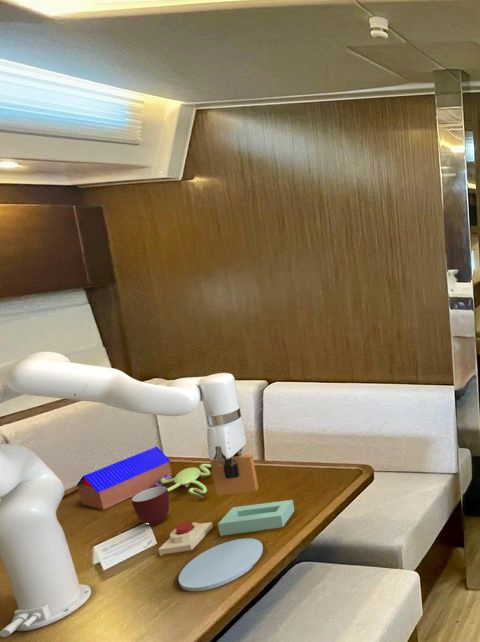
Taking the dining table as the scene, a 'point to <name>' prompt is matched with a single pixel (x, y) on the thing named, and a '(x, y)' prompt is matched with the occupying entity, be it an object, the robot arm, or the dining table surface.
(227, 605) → the dining table surface
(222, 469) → the copper rectangular plank
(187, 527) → the stop button
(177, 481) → the figurine
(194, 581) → the plate
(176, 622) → the dining table surface
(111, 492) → the house
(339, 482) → the dining table surface
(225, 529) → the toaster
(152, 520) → the mug
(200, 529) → the control block
